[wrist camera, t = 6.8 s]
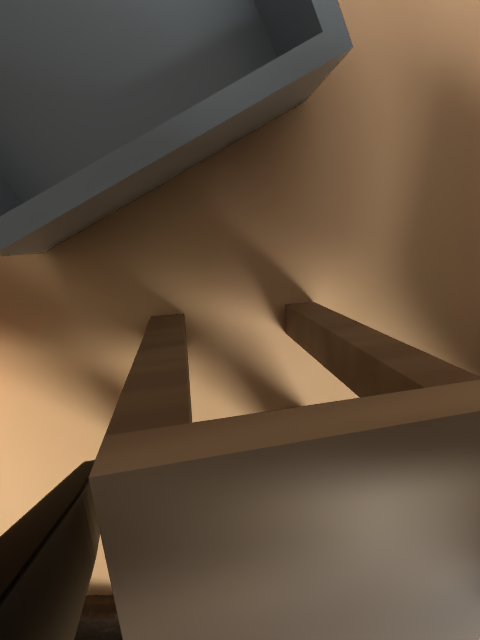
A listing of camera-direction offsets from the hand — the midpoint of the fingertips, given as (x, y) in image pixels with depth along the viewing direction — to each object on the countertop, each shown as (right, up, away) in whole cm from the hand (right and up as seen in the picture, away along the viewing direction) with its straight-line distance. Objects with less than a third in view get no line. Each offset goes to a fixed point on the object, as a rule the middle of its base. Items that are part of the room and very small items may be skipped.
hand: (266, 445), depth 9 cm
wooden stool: (-1, +1, +4) cm, 4 cm away
